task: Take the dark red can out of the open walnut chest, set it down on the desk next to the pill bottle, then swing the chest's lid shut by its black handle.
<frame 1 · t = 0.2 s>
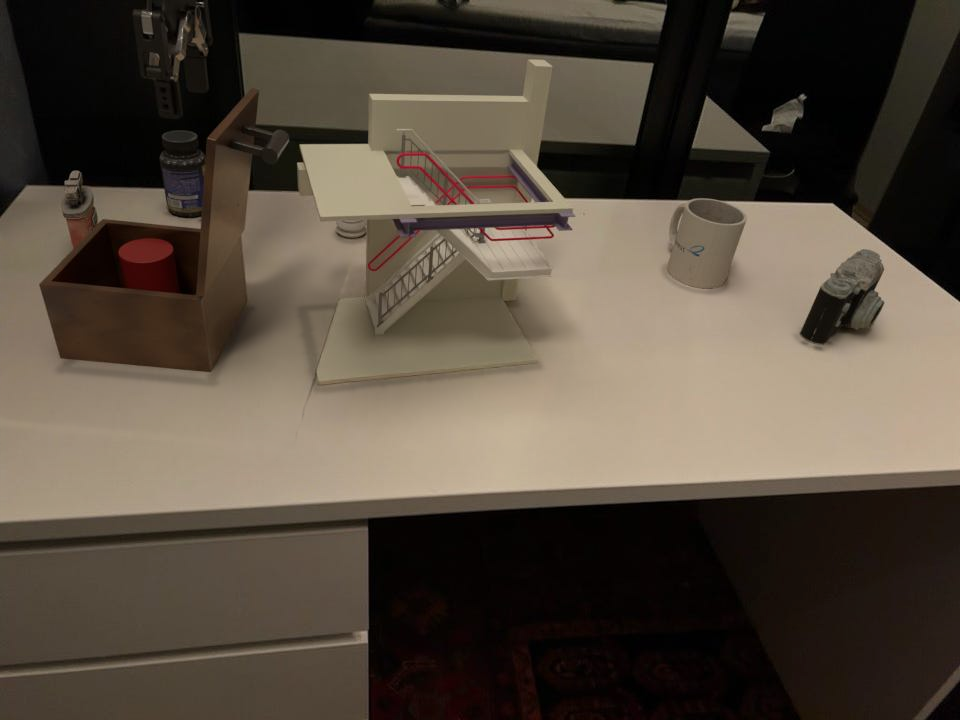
hand: (185, 104, 78), 23 cm above the table, tool pointing down, fingers open, 8 cm apart
lid: (250, 196, 74), point 18 cm above the table, hinge at 100.0°
camera: (838, 327, 101), on the table
rook chess piece: (350, 233, 108), on the table
pill bottle: (190, 210, 109), on the table
staircase: (426, 338, 89), on the table
mug: (690, 268, 111), on the table
chest: (161, 332, 84), on the table
can: (157, 310, 86), point 1 cm above the table, touching chest
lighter: (89, 253, 96), on the table
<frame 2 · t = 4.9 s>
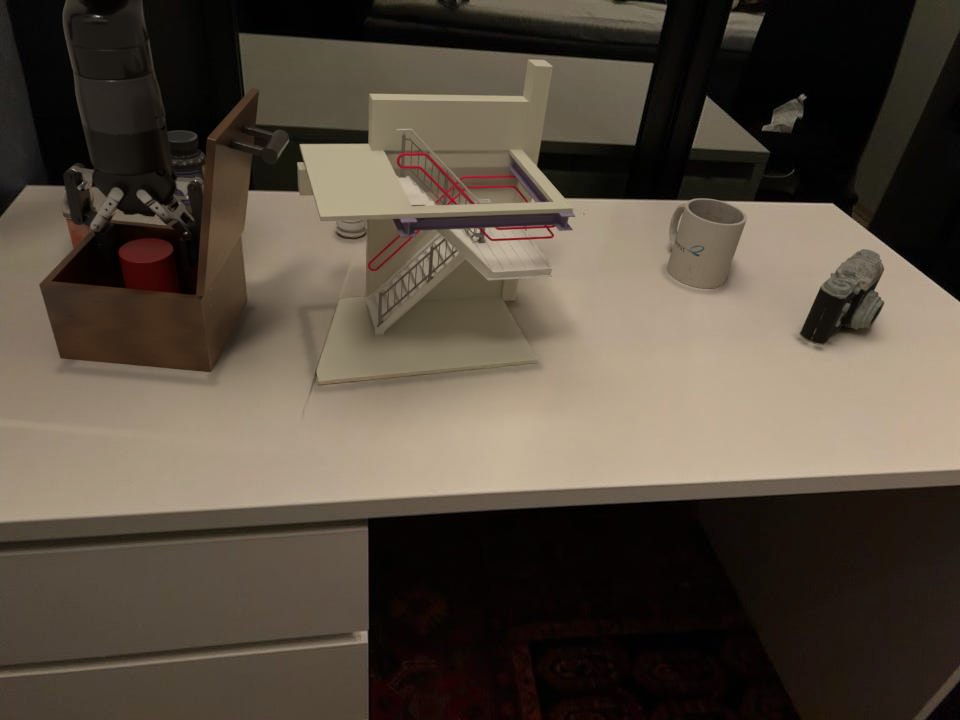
hand: (152, 262, 82), 7 cm above the table, tool pointing down, fingers open, 8 cm apart
nothing on the table moved.
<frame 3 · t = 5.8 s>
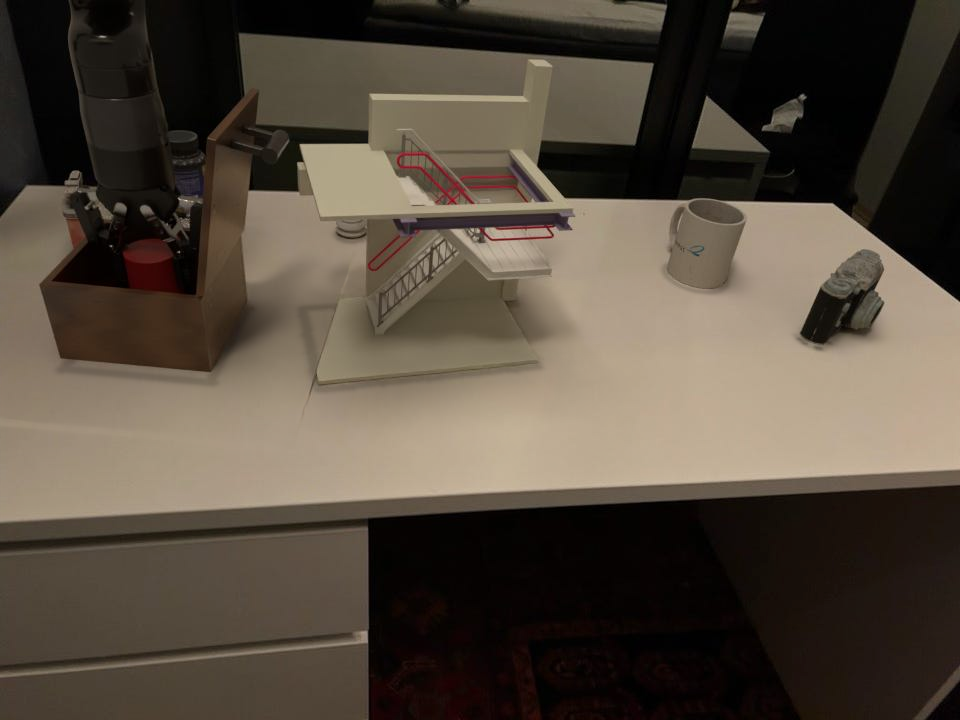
hand: (155, 279, 83), 5 cm above the table, tool pointing down, fingers closed on can, 5 cm apart
can: (161, 311, 86), point 1 cm above the table, touching chest, gripper
everything else where it was.
when the fingers open (4 cm above the table, at t = 13.1 s): can stays where it is, on the table.
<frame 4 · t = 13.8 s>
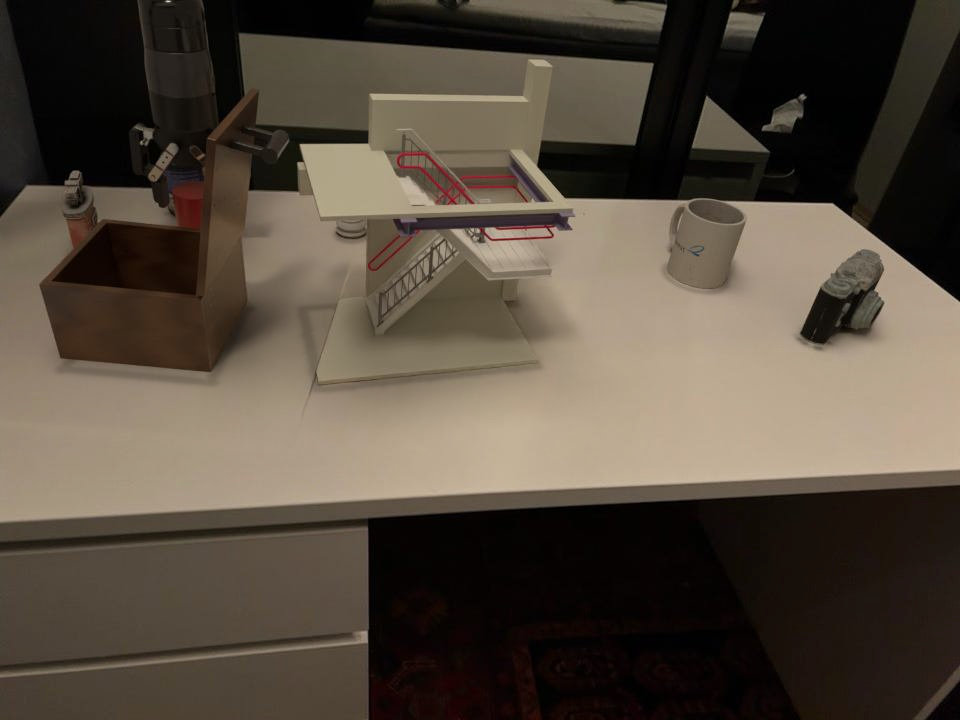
hand: (197, 209, 98), 5 cm above the table, tool pointing down, fingers open, 8 cm apart
can: (202, 244, 101), on the table
everything else where it was.
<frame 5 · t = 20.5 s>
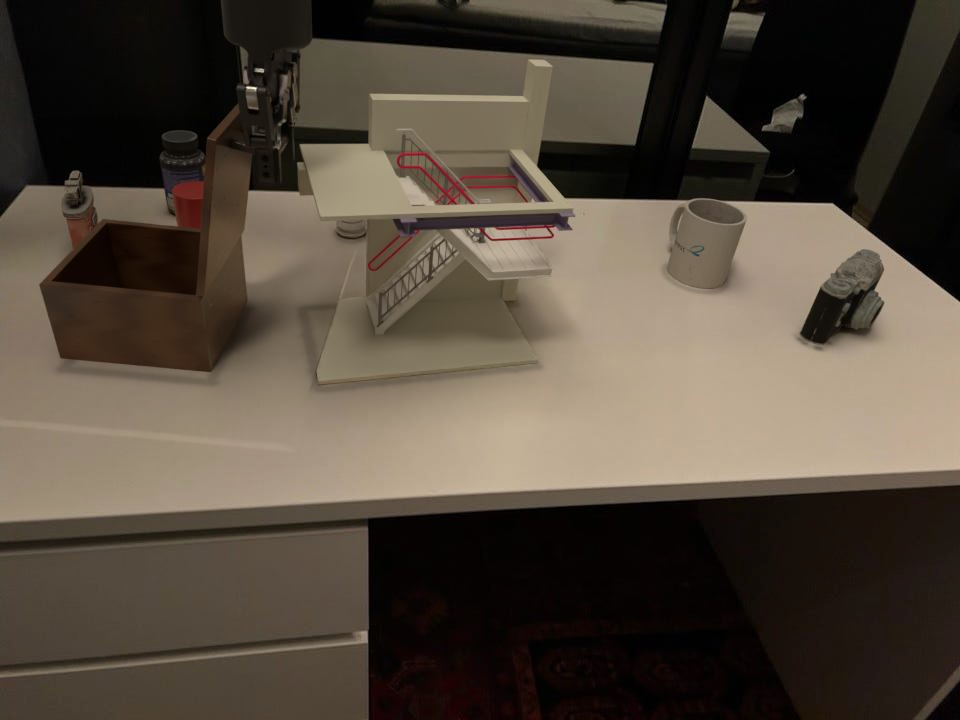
hand: (276, 172, 73), 21 cm above the table, tool pointing down, fingers closed on lid, 5 cm apart
lid: (250, 196, 74), point 18 cm above the table, hinge at 100.0°, touching gripper
everything else where it was.
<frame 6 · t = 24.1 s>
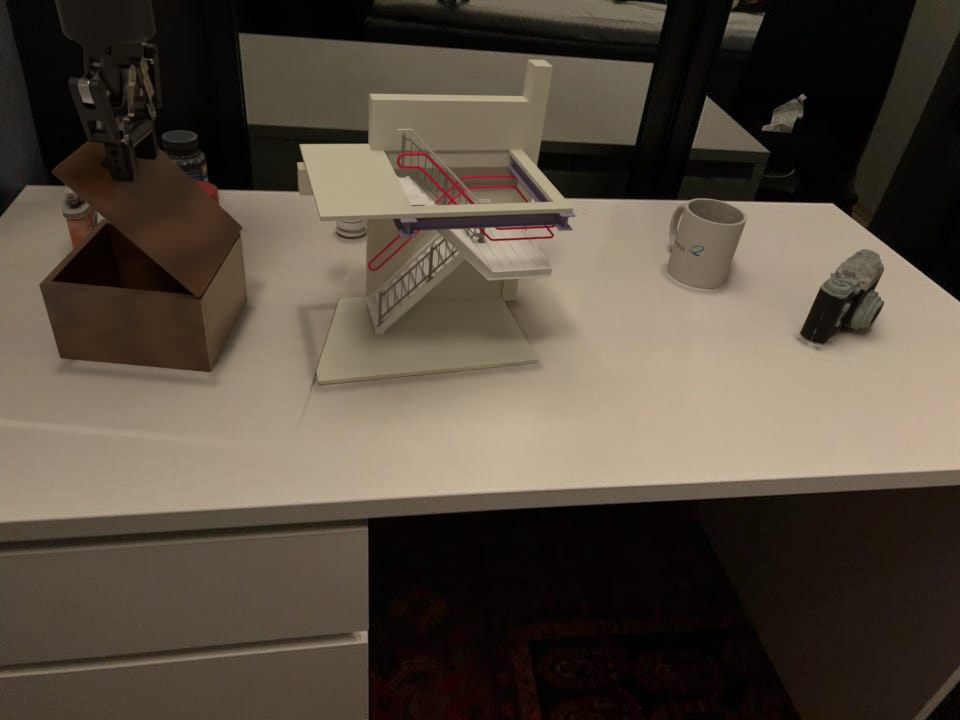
hand: (136, 167, 72), 20 cm above the table, tool pointing down, fingers closed on lid, 5 cm apart
lid: (172, 190, 74), point 18 cm above the table, hinge at 45.9°, touching gripper
everything else where it was.
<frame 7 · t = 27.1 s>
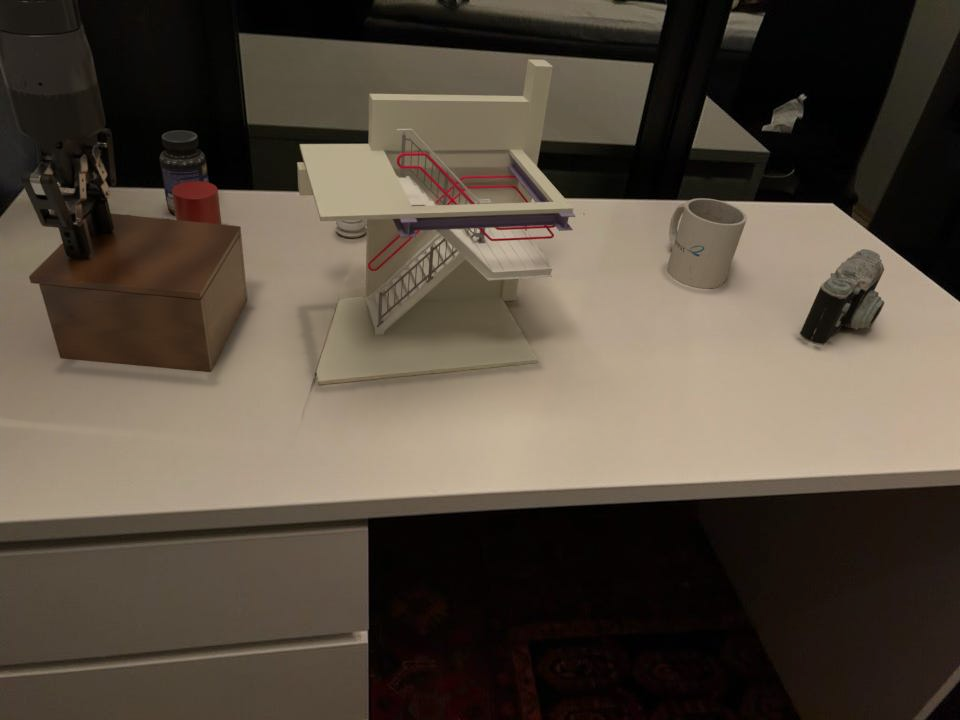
hand: (91, 243, 77), 11 cm above the table, tool pointing down, fingers closed on lid, 5 cm apart
lid: (140, 233, 77), point 12 cm above the table, hinge at -0.2°, touching chest, gripper
everything else where it was.
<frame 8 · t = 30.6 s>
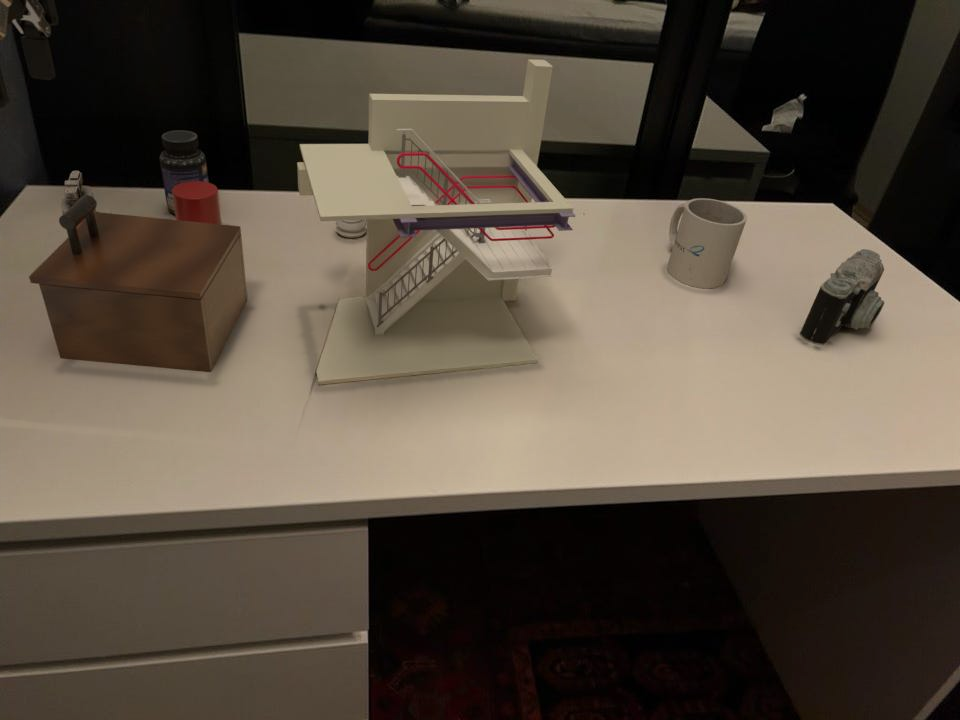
hand: (21, 91, 68), 26 cm above the table, tool pointing down, fingers open, 8 cm apart
lid: (140, 233, 77), point 12 cm above the table, hinge at -0.2°, touching chest
everything else where it was.
at the end: can 11.2 cm from the pill bottle (horizontally); can tilted 0°; lid at +0° (first picture: +100°) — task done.
